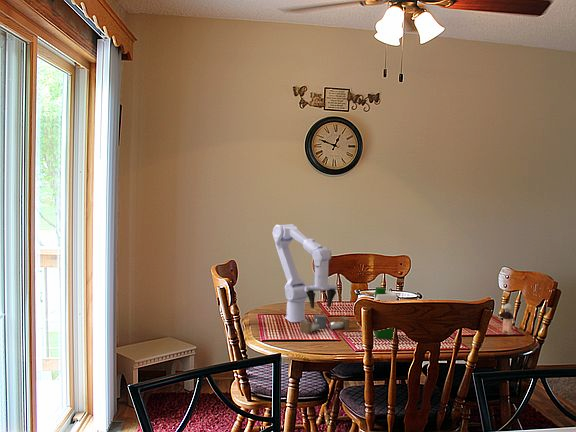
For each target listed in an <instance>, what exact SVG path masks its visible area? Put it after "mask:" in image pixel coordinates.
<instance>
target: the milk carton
mask: <svg viewBox="0 0 576 432" xmlns="http://www.w3.org/2000/svg"><path fill="white" fill-rule="evenodd" d="M386 290H387V289H386V288H385V287H383V286H382V287H381V286H380V287H379V286H378V287H375V291H374V294H373V295H374V296H373V298H374V299H373V301H374V300H380V301H397V299H398V297H397V294H396V293H395V292H394V291H386ZM397 302H398V301H397ZM393 332H394V329H385V330H381V331H374V330H373V334H375V335H374V336H375V338H376V339H378V340H380V339H383V340H386V339H387V340H393V339H392V337H393Z"/></svg>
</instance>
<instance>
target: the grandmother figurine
mask: <svg viewBox="0 0 576 432" xmlns="http://www.w3.org/2000/svg"><path fill="white" fill-rule="evenodd" d="M502 309H503V310H504V311H502V312H501V313H499V315H498V320H501V319H502V318H503V320H502V331H501V333H502V334H506V335H513V334H514V333H513V331H512V324H515V323H516V322H515V316H514V315H513V314H512V312H511V310H512V305H511V304H510V303H505V304H504V305H503V307H502Z"/></svg>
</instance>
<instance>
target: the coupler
mask: <svg viewBox="0 0 576 432" xmlns="http://www.w3.org/2000/svg"><path fill="white" fill-rule="evenodd" d="M313 317H314V318H313V324H315V323H318V324H319V325H320V329H327V316H326V315H324V314H323V313H322V314H314V316H313Z"/></svg>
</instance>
